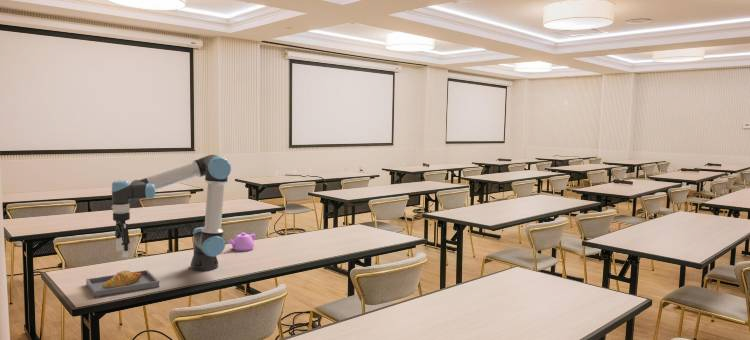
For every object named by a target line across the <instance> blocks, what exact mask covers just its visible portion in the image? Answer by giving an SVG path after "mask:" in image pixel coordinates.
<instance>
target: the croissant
mask: <svg viewBox="0 0 750 340" xmlns="http://www.w3.org/2000/svg"><path fill="white" fill-rule="evenodd" d="M133 272H134V271H130V270H122V271H119V272H117V273H116V274H114V275H115V276H113V277H112V278H111V279H110V280H107V281H106V283H105V284H103V285H102V287H103V288H116V287H122V286H128V285H130V284H132V283H134V282H136V281H137V280H139V279H140V278H141V276H142V273H133Z"/></svg>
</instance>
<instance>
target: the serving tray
mask: <svg viewBox="0 0 750 340" xmlns="http://www.w3.org/2000/svg"><path fill="white" fill-rule="evenodd" d="M132 272H133V273H142V276H141V278H140V279H139V280H137V281H136V282H134V283H132V284H130V285H128V286H122V287H116V288H103V287H102V285H103V284H105V283H106V281H107V280H110V279H111V278H112V277H113V276H115V275H116V274H112V275H105V276H99V277H90V278H86V280H85V281H86V282H85V283H86V287H87V288H88V289H89V291H90V293H91V295H92V296H93V298H95V299H96V298H102V297H108V296H113V295H120V294H126V293H130V292H131V293H132V292H137V291H144V290H149V289H155V288H160V281H159V280H158V279H157V278H156V276H154V275H153V273H151V272H150V271H149V270H148V269H145V270H138V271H132Z"/></svg>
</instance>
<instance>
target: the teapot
mask: <svg viewBox="0 0 750 340" xmlns="http://www.w3.org/2000/svg"><path fill="white" fill-rule="evenodd" d="M255 239H256V233H251V234H247V233H246V232H241V233H240V234H237V235H236V236H235V238H233V239H232V238H228V240H227V241H228V242H229V244H231V246H232V247H231V248H232V249H234V251H237V252H246V251H247V252H248V251H251V250H253V249H254V248H255V243H254V242H255Z"/></svg>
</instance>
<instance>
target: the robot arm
mask: <svg viewBox="0 0 750 340" xmlns="http://www.w3.org/2000/svg"><path fill="white" fill-rule="evenodd" d="M231 171H232V165H231V164H230V162H229V160H228V159H226V158H225V157H223V156H221V155H216V154H208V155H206V156H203V157H200V158H198V159H195V160H193V161H192V163H188V164H185V165H182V166H179V167H175V168H173V169H170V170H166V171H164V172H161V173H157V174H154V175H152V176H148V177H145V178H142V179H134V180H132V181H131V182H129V181H127V180H115V181H113V182H112V183H111V199H112V202H111V203H112V206H111V208H110V209H112V212H113V213H112V220H113V221H114V222H115V232H114V236H115V244H116V252H122V258H130V246H129V245H130V244H131V242H130V236H129V228H128V227H129V225H128V223H126V221H129V220H130V219H131V213H130V211H131V210H130V206H131V205H130V201H131V200H145V199H147V200H149V199H153V198H155V196H156V190H159V189H161V188H162V189H163V188H165V187H168V186H171V185H174V184H178V183H179V182H183V181H186V180H189V179H192V178H195V177H198V178H200V177H204V181H205V183H207V188H206V189H207V191H206V202H205V216H204V217H205V218H204V226H200V227H195V228H194V229H193V233H192V234H193V255H192V259H191V260H190V261H191V262H190V265H189V266H190V269H191V270H192V271H198V272H199V271H201V272H202V271H211V270H215V269H217V268H218V267H219V261H218V258H217V256H219V255H221V254H222V253H223V252H224V250H225V248H226V242H225V239H224V230H223V228H222V221H223V220H222V217H223V206H224V205H223V204H224V194H225V192H224V191H225V185H226V184H227V183H228V179H229V178H228V177H229V175H230V174H231Z"/></svg>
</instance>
